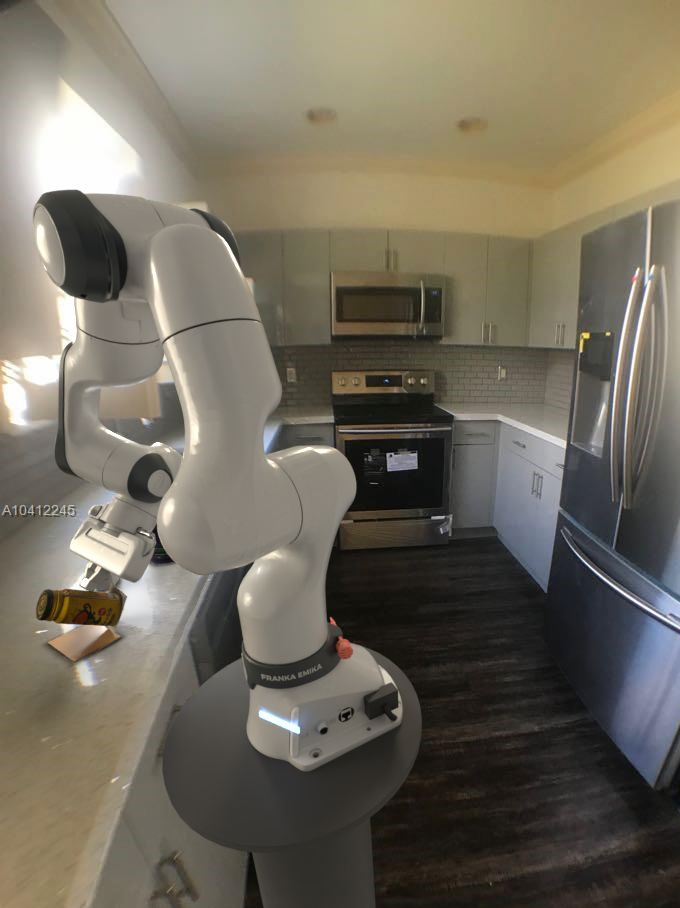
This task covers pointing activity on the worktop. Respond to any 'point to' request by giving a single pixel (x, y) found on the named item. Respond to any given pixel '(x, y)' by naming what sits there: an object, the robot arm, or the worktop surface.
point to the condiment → (82, 607)
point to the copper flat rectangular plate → (83, 641)
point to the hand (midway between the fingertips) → (85, 589)
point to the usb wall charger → (108, 582)
